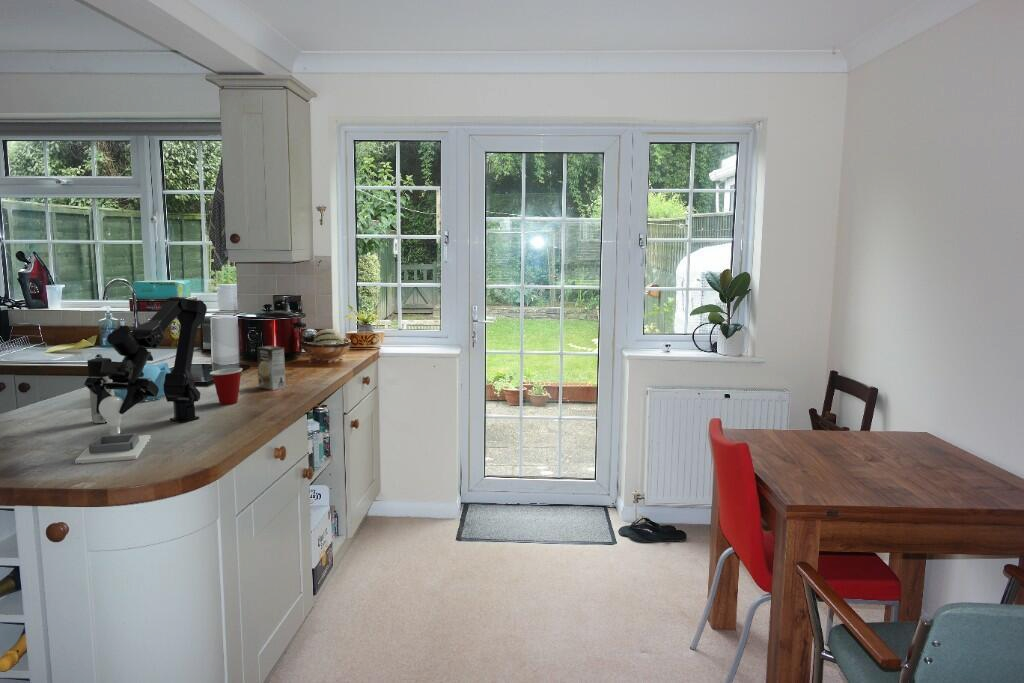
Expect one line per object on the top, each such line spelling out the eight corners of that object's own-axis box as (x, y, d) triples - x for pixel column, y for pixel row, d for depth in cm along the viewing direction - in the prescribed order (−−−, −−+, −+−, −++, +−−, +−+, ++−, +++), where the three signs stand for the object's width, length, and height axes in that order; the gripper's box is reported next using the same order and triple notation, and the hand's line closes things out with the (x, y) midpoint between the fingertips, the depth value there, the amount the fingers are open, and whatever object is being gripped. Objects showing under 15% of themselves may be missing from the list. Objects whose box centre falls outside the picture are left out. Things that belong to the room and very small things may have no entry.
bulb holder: (95, 442, 194) (94, 432, 193) (150, 438, 198) (149, 428, 197) (75, 463, 175) (74, 452, 174) (136, 459, 179) (135, 447, 179)
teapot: (108, 404, 238) (105, 365, 236) (118, 393, 255) (116, 357, 253) (169, 401, 244) (166, 363, 242) (175, 390, 262) (173, 355, 260)
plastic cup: (217, 399, 247) (215, 367, 245) (248, 399, 247) (246, 366, 246) (206, 406, 236) (204, 372, 234) (238, 406, 237) (237, 372, 235)
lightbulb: (108, 440, 182) (104, 400, 180) (97, 436, 185) (93, 397, 183) (132, 434, 187) (129, 395, 185) (121, 431, 190) (117, 392, 189)
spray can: (121, 419, 218) (116, 358, 215) (102, 425, 212) (97, 361, 209) (106, 417, 220) (101, 357, 217) (86, 423, 214) (81, 360, 211)
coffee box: (257, 387, 268) (255, 347, 265) (271, 384, 273) (269, 345, 271) (273, 390, 263) (271, 349, 260) (286, 387, 268) (284, 347, 266)
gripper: (85, 348, 187) (59, 396, 178) (149, 349, 185) (125, 398, 176) (107, 370, 196) (83, 417, 187) (168, 372, 194) (147, 420, 185)
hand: (109, 413), depth 184 cm, fingers closed on lightbulb, 6 cm apart
